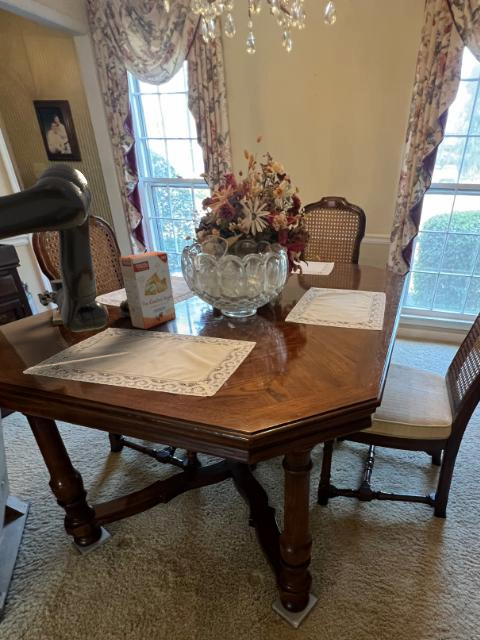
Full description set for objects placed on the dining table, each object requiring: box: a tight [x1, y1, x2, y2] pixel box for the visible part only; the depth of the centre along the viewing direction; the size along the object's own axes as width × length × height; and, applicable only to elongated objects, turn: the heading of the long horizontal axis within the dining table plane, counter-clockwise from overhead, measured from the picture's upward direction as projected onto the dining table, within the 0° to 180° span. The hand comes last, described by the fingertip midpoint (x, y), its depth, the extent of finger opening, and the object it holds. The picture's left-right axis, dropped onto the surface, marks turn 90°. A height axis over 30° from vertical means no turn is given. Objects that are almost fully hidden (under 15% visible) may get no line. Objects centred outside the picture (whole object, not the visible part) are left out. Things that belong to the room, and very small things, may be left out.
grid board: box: [52, 304, 110, 326], centre depth 127 cm, size 16×12×2 cm
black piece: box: [49, 278, 63, 313], centre depth 125 cm, size 5×5×10 cm
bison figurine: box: [118, 298, 131, 318], centre depth 125 cm, size 12×7×10 cm, turn 76°
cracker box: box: [118, 251, 177, 330], centre depth 117 cm, size 14×6×21 cm, turn 155°
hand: (62, 291), depth 121 cm, fingers open, 8 cm apart
